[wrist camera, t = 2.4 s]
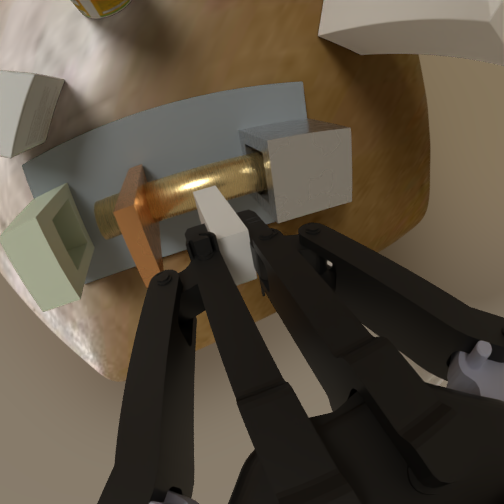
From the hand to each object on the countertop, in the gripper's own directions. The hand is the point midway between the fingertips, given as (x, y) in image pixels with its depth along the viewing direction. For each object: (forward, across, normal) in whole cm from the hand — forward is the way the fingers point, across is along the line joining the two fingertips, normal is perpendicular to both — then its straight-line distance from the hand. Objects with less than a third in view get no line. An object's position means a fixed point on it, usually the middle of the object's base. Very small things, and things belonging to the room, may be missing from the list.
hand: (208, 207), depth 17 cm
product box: (+9, -13, +12) cm, 20 cm away
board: (+9, -2, 0) cm, 9 cm away
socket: (+8, -13, 0) cm, 15 cm away
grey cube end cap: (+8, +8, 0) cm, 11 cm away
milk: (+9, +19, +14) cm, 25 cm away
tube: (+7, +2, 0) cm, 7 cm away
